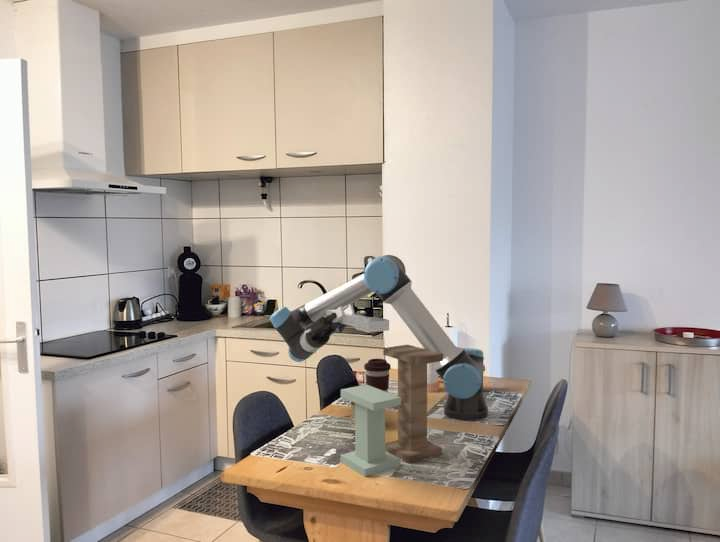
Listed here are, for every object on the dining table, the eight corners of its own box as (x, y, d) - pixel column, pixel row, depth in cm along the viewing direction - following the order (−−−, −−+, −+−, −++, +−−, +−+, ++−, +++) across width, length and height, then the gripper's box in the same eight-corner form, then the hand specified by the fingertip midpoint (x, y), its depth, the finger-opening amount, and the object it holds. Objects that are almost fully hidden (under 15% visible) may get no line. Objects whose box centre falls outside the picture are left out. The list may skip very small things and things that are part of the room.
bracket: (320, 320, 192) (320, 310, 192) (339, 318, 196) (339, 309, 195) (368, 332, 169) (368, 322, 169) (389, 330, 173) (389, 319, 173)
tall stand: (379, 448, 180) (379, 348, 178) (411, 439, 187) (411, 343, 184) (413, 466, 167) (413, 358, 164) (446, 456, 174) (446, 353, 171)
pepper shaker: (425, 392, 238) (425, 344, 237) (418, 387, 245) (418, 341, 244) (442, 391, 240) (442, 343, 238) (435, 386, 247) (435, 340, 245)
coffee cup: (389, 403, 224) (389, 363, 223) (362, 402, 226) (362, 363, 224) (391, 396, 234) (391, 357, 233) (366, 395, 235) (366, 357, 234)
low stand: (336, 459, 172) (336, 390, 170) (371, 450, 178) (371, 383, 177) (369, 479, 158) (368, 404, 157) (405, 468, 165) (405, 396, 164)
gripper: (338, 345, 206) (372, 318, 188) (296, 351, 197) (327, 323, 179) (332, 324, 208) (365, 296, 191) (290, 329, 200) (321, 300, 182)
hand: (347, 309), depth 185 cm, fingers closed on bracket, 3 cm apart
